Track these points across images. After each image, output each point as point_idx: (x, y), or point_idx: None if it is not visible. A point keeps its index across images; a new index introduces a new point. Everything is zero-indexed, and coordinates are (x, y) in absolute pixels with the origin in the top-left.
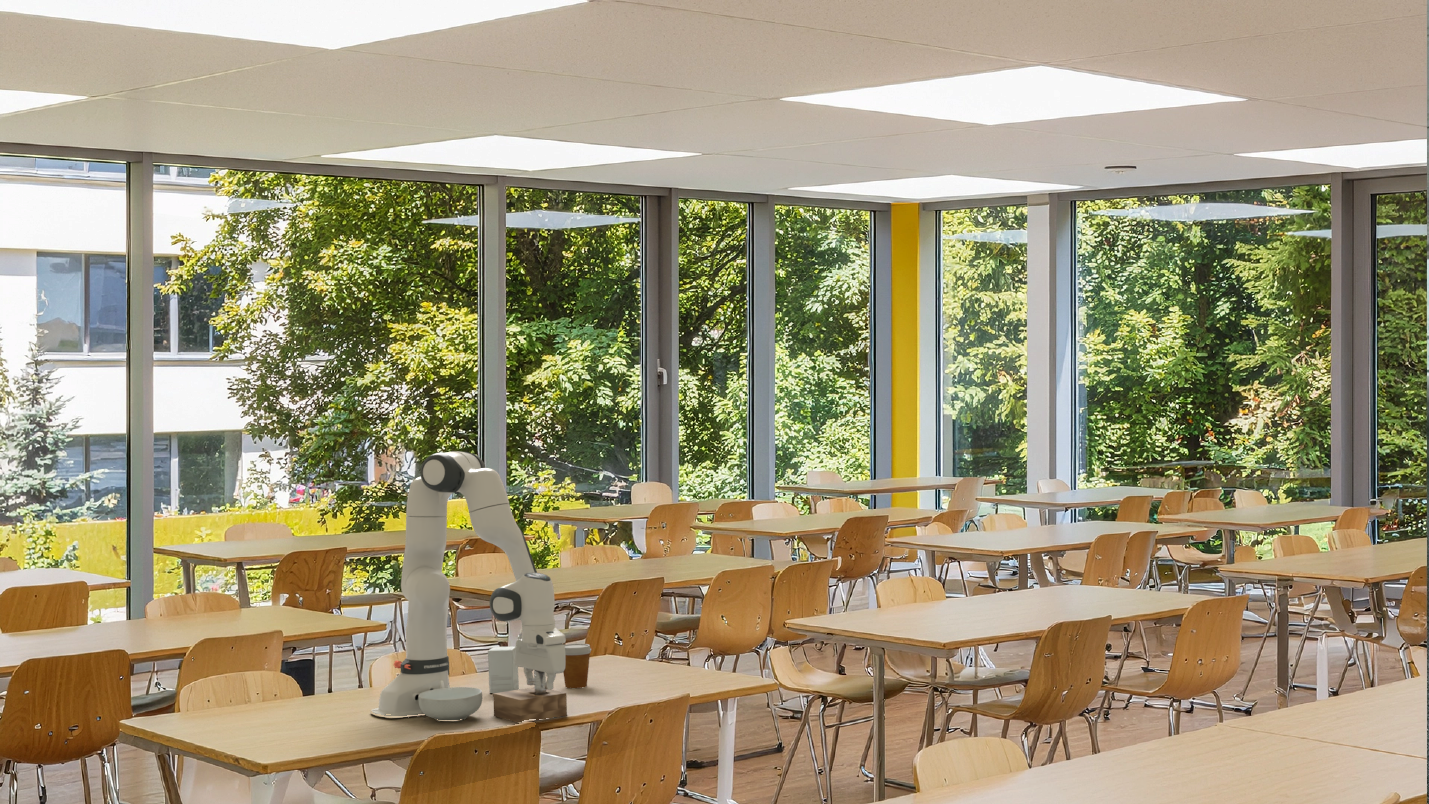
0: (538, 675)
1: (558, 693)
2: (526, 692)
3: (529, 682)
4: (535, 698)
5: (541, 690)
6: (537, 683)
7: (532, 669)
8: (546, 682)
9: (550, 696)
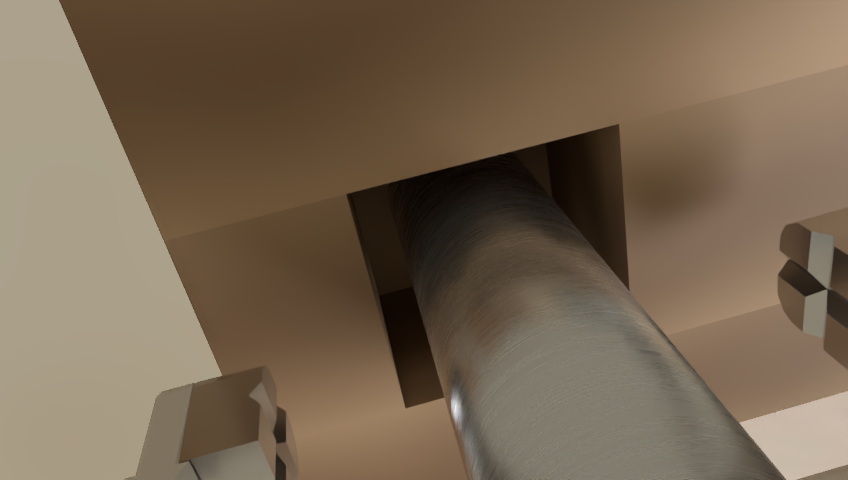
0: (515, 463)
1: (322, 472)
2: (704, 112)
3: (826, 240)
4: (102, 91)
5: (426, 307)
6: (487, 321)
7: (821, 473)
8: (172, 470)
9: (215, 350)
